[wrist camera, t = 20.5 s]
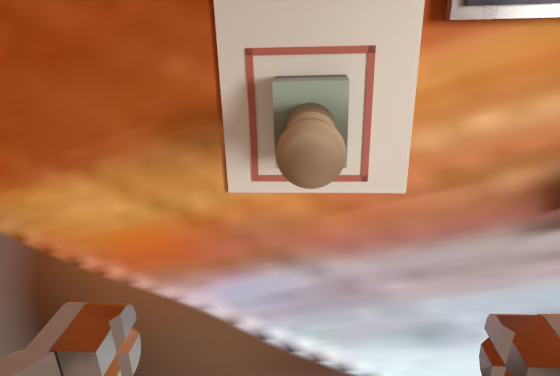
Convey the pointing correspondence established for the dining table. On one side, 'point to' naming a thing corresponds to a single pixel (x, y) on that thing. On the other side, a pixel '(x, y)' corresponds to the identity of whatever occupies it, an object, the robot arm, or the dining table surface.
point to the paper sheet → (320, 61)
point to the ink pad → (501, 9)
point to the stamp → (310, 128)
